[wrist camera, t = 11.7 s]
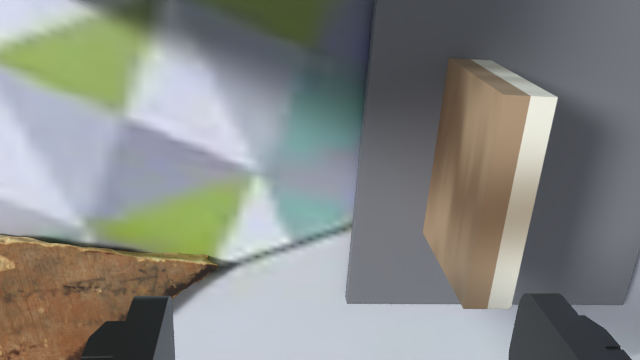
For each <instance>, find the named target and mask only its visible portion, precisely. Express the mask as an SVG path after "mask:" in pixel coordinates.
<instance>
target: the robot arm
mask: <svg viewBox="0 0 640 360" xmlns="http://www.w3.org/2000/svg"><path fill="white" fill-rule="evenodd" d="M81 360H175V347H174V329H173V310H172V299H171V296H134V298H133V300H132V302H131V305H130V308H129V311H128V314H127V317H126V320H125V321H106V322H105V323H104V324H103V325H101V326H100V327H99V328H98V329H97V330H96V331H95V332H94V333H93V334H92V335H91V336H90V337H89V338H88V341H87V343H86V345H85V348H84V350H83V353H82V355H81ZM509 360H632V359H631V358H630V357H629V356H628V355H627V354H626V352H625V351H624V350H621V349H620V345H619V344H618V343H617V342H616V341H615V340H614V339H613V337H612V336H611V335H610V334H609V333H608V332H607V330H606V329H604V328H603V327H601V326H600V325H598V324H597V323H595V322H594V321H592V320H591V319H589V318H588V317H586V316H585V315H578V314H577V312H576V311H575V310H574V309H573V308H572V306H571V305H570V304H569V303H568V302H567V300H566V299H565V298H564V297H563V296H562V295H561V294H559V293H525V294H523V295H522V297H521V299H520V301H519V306H518V310H517V315H516V320H515V325H514V329H513V334H512V339H511V344H510V349H509Z"/></svg>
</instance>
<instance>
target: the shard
mask: <svg viewBox="0 0 640 360" xmlns="http://www.w3.org/2000/svg"><path fill="white" fill-rule="evenodd" d="M207 259H208V255H192V254H181V253H138V252H128V251H121V250H117V251H115V250H112V249H106V248H94V247H80V246H75V245H69V244H60V243H47V242H44V241H39V240H37V239H35V238H29V237H13V236H7V235H0V360H81V355H82V353H83V350H84V348H85V345H86V343H87V341H88V338H89V337H90V336H91V335H92V334H93V333H94V332H95V331H96V330H97V329H98V328H99V327H100V326H101V325H103V324H104V323H105V322H106V321H125V320H126V317H127V314H128V311H129V308H130V305H131V302H132V300H133V298H134V296H171V299H173V297H175V296H176V295H177V294H179V293H180V292H181V291H183V290H184V289H186V288H188V287H189V286H190V285H191V284H193V283H196V282H198V281H200V280H202V279H203V278H204V277H205V276H206V275H208V274H209V273H210V272H211V271H213V270H214V269H216V268H217V267H218V265H217V264H214V263H212V262H211V261H209V260H207Z"/></svg>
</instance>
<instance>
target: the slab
mask: <svg viewBox="0 0 640 360" xmlns="http://www.w3.org/2000/svg"><path fill="white" fill-rule="evenodd" d="M557 99H558V97H556V96H555V95H553V94H551V93H549V92H547V91H546V90H544V89H542V88H540V87H538V86H537V85H535V84H533V83H531V82H529V81H528V80H526V79H524V78H522V77H520V76H519V75H517V74H515V73H513V72H511V71H510V70H508V69H506V68H504V67H502V66H501V65H499V64H497V63H495V62H493V61H492V60H476V59H457V58H449V60H448V67H447V73H446V80H445V87H444V93H443V100H442V107H441V114H440V120H439V127H438V134H437V140H436V147H435V154H434V161H433V167H432V174H431V181H430V187H429V194H428V201H427V208H426V214H425V221H424V228H423V234H424V236H425V238H426V240H427V242H428V244H429V246H430V247H431V249H432V251H433V253H434V255H435V257H436V259H437V260H438V262H439V264H440V266H441V268H442V270H443V272H444V273H445V275H446V277H447V279H448V281H449V283H450V285H451V286H452V288H453V290H454V292H455V294H456V296H457V298H458V299H459V301H460V303H461V305H462V307H463V309H511V305H512V301H513V297H514V292H515V288H516V283H517V279H518V274H519V270H520V265H521V261H522V256H523V252H524V247H525V243H526V238H527V234H528V229H529V225H530V220H531V216H532V211H533V207H534V202H535V198H536V193H537V189H538V184H539V180H540V175H541V171H542V166H543V162H544V157H545V153H546V148H547V144H548V140H549V135H550V131H551V126H552V122H553V117H554V113H555V108H556V104H557Z"/></svg>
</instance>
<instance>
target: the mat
mask: <svg viewBox="0 0 640 360" xmlns="http://www.w3.org/2000/svg"><path fill="white" fill-rule="evenodd" d="M449 58H457V59H476V60H492V61H493V62H495V63H497V64H499V65H501V66H502V67H504V68H506V69H508V70H510V71H511V72H513V73H515V74H517V75H519V76H520V77H522V78H524V79H526V80H528V81H529V82H531V83H533V84H535V85H537V86H538V87H540V88H542V89H544V90H546V91H547V92H549V93H551V94H553V95H555V96H556V97H558V99H557V104H556V108H555V113H554V117H553V122H552V126H551V131H550V135H549V140H548V144H547V148H546V153H545V157H544V162H543V166H542V171H541V175H540V180H539V184H538V189H537V193H536V198H535V202H534V207H533V211H532V216H531V220H530V225H529V229H528V234H527V238H526V243H525V247H524V252H523V256H522V261H521V265H520V270H519V274H518V279H517V283H516V288H515V292H514V297H513V301H512V304H519V301H520V299H521V297H522V295H523V294H525V293H559V294H561V295H562V296H563V297H564V298H565V299H566V300H567V302H568V303H569V304H570V305H623V303H624V300H625V296H626V293H627V290H628V287H629V283H630V280H631V277H632V273H633V270H634V267H635V263H636V260H637V257H638V254H639V250H640V0H374V7H373V17H372V27H371V38H370V48H369V58H368V69H367V79H366V89H365V100H364V110H363V120H362V131H361V141H360V151H359V162H358V172H357V182H356V193H355V203H354V213H353V224H352V234H351V244H350V255H349V265H348V275H347V286H346V296H345V297H346V301H347V304H461V303H460V301H459V299H458V298H457V296H456V294H455V292H454V290H453V288H452V286H451V285H450V283H449V281H448V279H447V277H446V275H445V273H444V272H443V270H442V268H441V266H440V264H439V262H438V260H437V259H436V257H435V255H434V253H433V251H432V249H431V247H430V246H429V244H428V242H427V240H426V238H425V236H424V234H423V228H424V221H425V214H426V208H427V201H428V194H429V187H430V181H431V174H432V167H433V161H434V154H435V147H436V140H437V134H438V127H439V120H440V114H441V107H442V100H443V93H444V87H445V80H446V73H447V67H448V60H449Z"/></svg>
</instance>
